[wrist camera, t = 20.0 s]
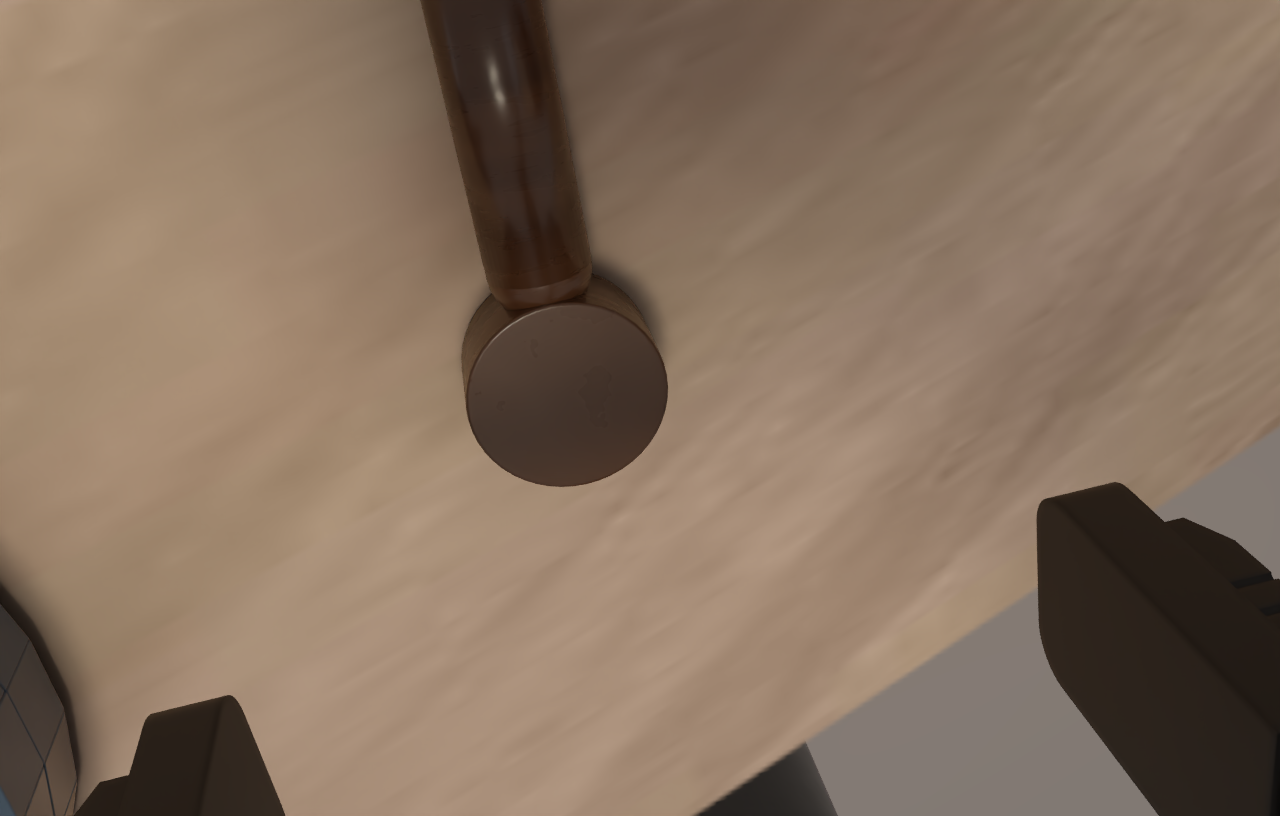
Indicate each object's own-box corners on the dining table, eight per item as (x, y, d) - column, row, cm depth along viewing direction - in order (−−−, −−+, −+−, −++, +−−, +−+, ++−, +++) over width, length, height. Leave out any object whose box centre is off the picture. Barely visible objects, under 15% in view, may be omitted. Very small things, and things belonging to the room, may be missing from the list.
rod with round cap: (321, -175, 26) (313, -175, 24) (550, -218, 27) (564, -221, 24) (484, 459, 33) (491, 507, 31) (663, 418, 34) (682, 463, 31)
